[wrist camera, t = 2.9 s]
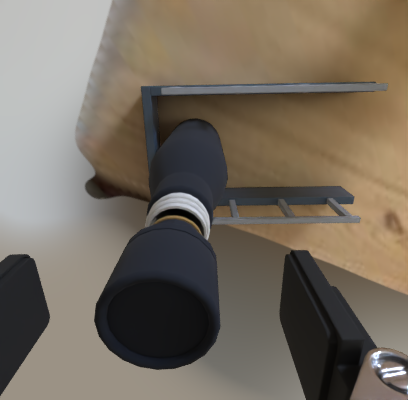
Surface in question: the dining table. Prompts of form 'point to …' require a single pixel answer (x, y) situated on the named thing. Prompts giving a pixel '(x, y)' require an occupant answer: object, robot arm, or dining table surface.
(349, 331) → the robot arm
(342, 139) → the dining table surface
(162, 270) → the dark blue bottle
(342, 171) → the dining table surface
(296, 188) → the dish rack
